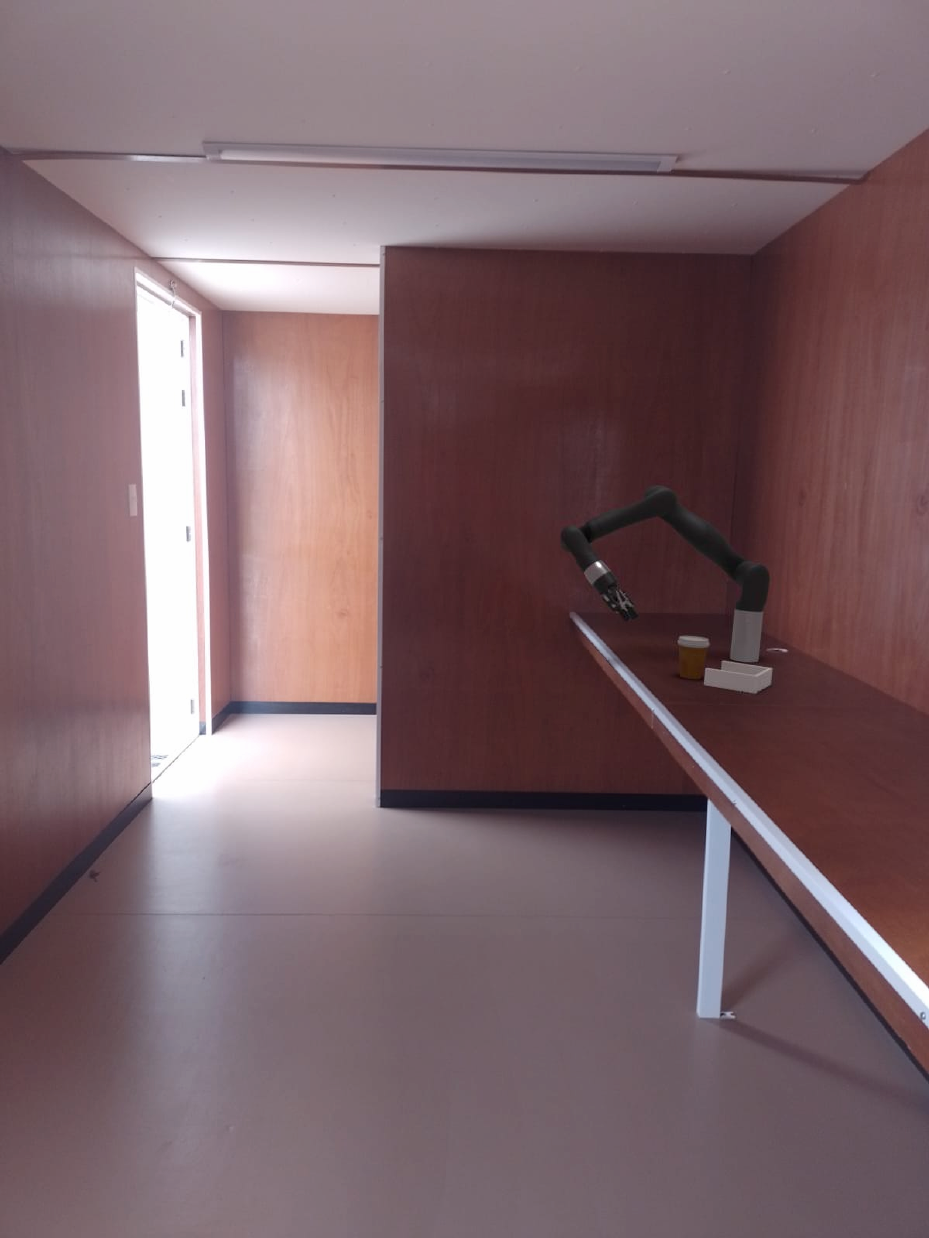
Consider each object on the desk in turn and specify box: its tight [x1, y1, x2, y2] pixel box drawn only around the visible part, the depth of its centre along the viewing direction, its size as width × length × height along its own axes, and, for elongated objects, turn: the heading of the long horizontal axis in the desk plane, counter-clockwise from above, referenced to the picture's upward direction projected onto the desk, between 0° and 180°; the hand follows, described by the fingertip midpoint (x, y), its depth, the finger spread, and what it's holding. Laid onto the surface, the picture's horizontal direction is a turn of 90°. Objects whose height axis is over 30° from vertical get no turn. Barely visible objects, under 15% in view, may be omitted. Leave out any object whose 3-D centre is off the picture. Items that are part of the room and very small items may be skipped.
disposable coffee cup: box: [677, 635, 710, 680], centre depth 272 cm, size 10×10×12 cm
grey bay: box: [703, 660, 773, 695], centre depth 264 cm, size 16×15×5 cm
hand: (632, 619), depth 281 cm, fingers open, 5 cm apart
